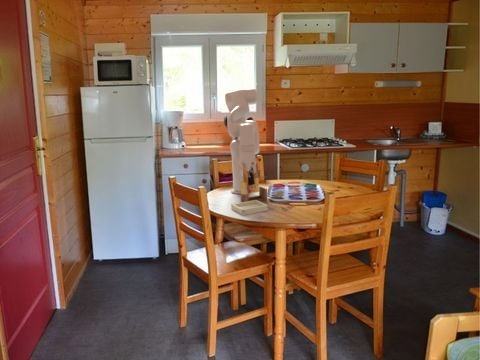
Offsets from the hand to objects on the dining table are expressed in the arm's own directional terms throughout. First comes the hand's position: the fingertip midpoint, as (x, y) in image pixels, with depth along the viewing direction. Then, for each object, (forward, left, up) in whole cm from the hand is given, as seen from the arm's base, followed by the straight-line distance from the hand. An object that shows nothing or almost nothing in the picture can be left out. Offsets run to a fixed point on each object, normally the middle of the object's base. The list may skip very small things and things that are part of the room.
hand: (248, 183), depth 220 cm
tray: (0, 0, -14) cm, 14 cm away
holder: (-12, +9, -14) cm, 20 cm away
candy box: (0, 0, -5) cm, 5 cm away
